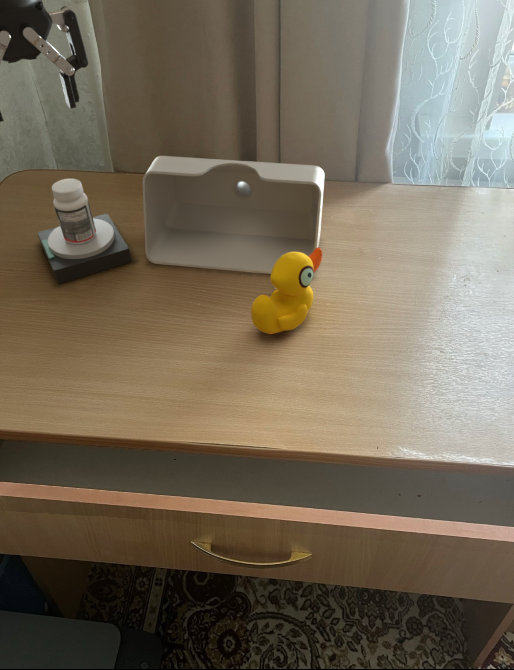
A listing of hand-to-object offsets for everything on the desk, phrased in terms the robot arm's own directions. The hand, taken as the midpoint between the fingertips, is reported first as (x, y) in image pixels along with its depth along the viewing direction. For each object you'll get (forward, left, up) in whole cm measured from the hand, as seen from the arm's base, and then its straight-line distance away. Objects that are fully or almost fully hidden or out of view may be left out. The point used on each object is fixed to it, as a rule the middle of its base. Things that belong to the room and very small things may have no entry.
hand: (36, 112), depth 67 cm
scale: (+1, +2, -23) cm, 23 cm away
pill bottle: (+1, +2, -20) cm, 20 cm away
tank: (+23, -6, -23) cm, 33 cm away
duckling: (+20, -26, -23) cm, 40 cm away
